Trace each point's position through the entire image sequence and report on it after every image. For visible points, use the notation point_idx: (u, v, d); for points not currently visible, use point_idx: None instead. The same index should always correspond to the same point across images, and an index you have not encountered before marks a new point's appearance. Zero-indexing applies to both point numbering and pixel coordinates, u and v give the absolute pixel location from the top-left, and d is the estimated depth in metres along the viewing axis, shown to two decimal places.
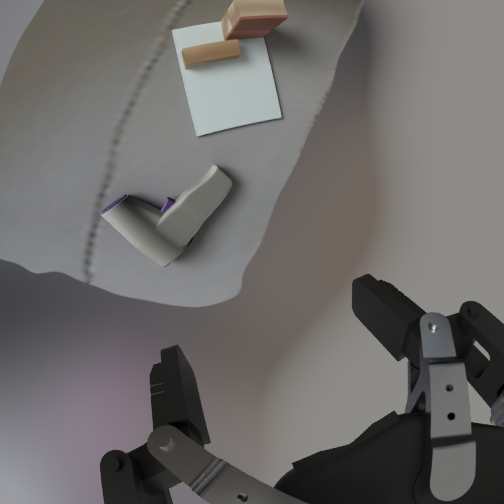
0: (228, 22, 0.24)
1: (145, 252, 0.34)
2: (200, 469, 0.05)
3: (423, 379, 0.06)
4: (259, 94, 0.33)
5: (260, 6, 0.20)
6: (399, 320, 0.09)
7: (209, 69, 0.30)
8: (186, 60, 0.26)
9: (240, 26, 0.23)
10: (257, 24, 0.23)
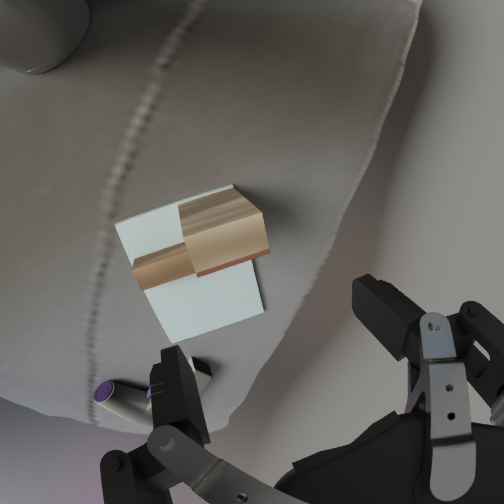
0: None
1: (139, 424, 0.32)
2: (200, 469, 0.05)
3: (423, 379, 0.06)
4: (237, 294, 0.31)
5: (225, 245, 0.19)
6: (399, 320, 0.09)
7: None
8: (140, 285, 0.25)
9: None
10: None
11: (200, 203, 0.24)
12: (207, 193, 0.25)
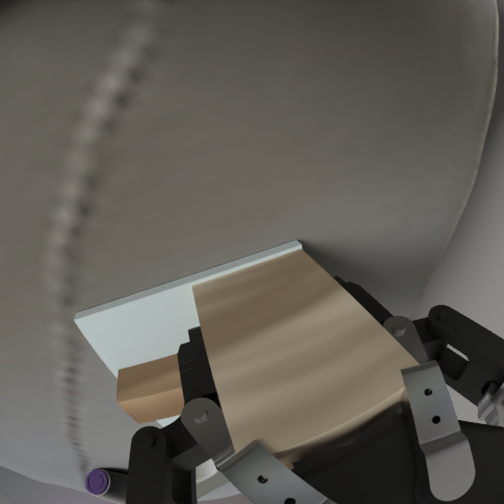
0: None
1: None
2: (228, 445, 0.06)
3: None
4: None
5: (335, 444, 0.06)
6: None
7: None
8: (135, 418, 0.12)
9: None
10: None
11: (243, 294, 0.11)
12: (252, 262, 0.13)
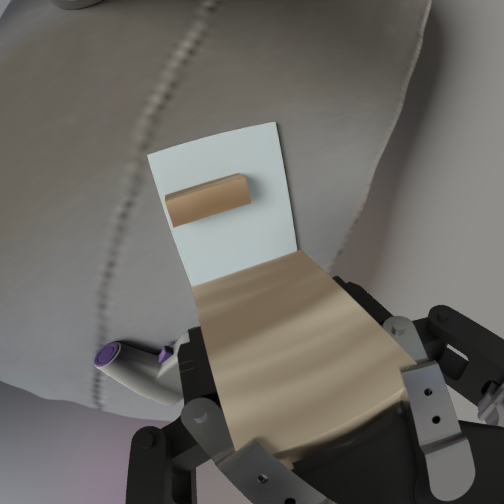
0: None
1: (147, 397, 0.29)
2: (228, 445, 0.06)
3: None
4: (273, 243, 0.29)
5: (335, 444, 0.06)
6: None
7: (207, 217, 0.26)
8: (173, 220, 0.22)
9: None
10: None
11: (243, 295, 0.11)
12: (249, 127, 0.23)
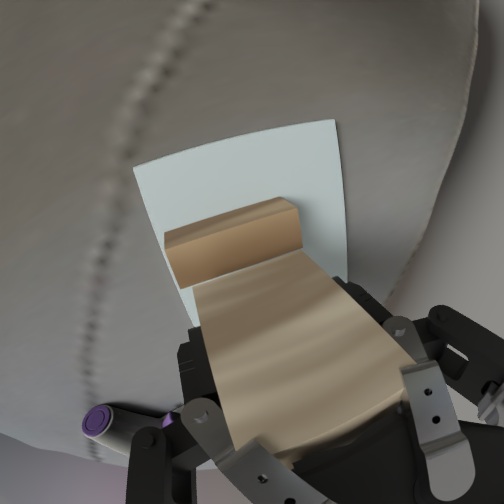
0: None
1: None
2: (228, 445, 0.06)
3: None
4: None
5: (335, 444, 0.06)
6: None
7: None
8: (179, 279, 0.14)
9: None
10: None
11: (243, 295, 0.11)
12: (298, 125, 0.15)
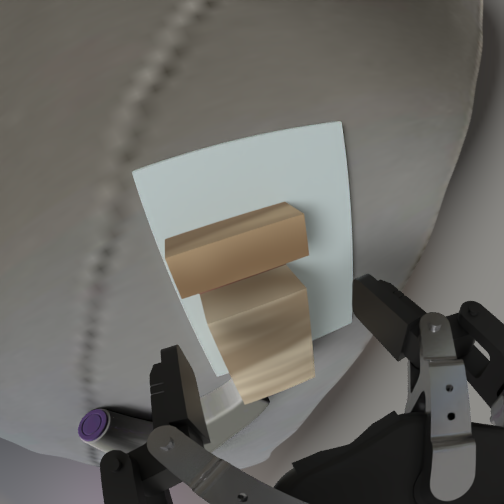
0: None
1: None
2: (200, 469, 0.05)
3: (423, 379, 0.06)
4: (324, 299, 0.20)
5: None
6: (399, 320, 0.09)
7: None
8: (180, 288, 0.13)
9: None
10: None
11: (252, 336, 0.15)
12: (304, 127, 0.14)
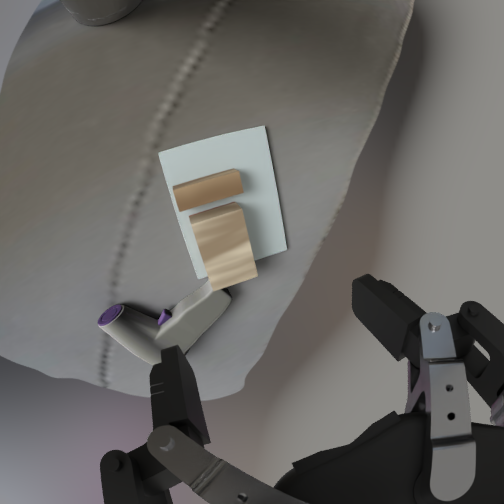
0: None
1: (144, 360, 0.33)
2: (200, 469, 0.05)
3: (423, 379, 0.06)
4: (263, 228, 0.34)
5: None
6: (399, 320, 0.09)
7: (207, 205, 0.31)
8: (179, 206, 0.27)
9: None
10: None
11: (214, 235, 0.29)
12: (242, 130, 0.28)
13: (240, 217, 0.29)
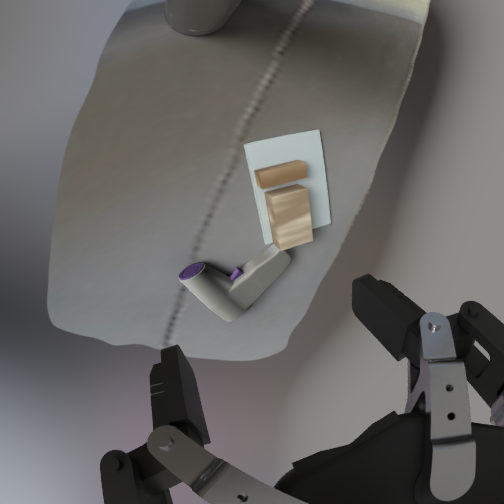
0: (272, 220, 0.41)
1: (216, 312, 0.42)
2: (200, 469, 0.05)
3: (423, 379, 0.06)
4: (315, 206, 0.44)
5: None
6: (399, 320, 0.09)
7: (277, 186, 0.40)
8: (262, 185, 0.37)
9: None
10: None
11: (287, 206, 0.39)
12: (304, 132, 0.38)
13: (305, 194, 0.39)
